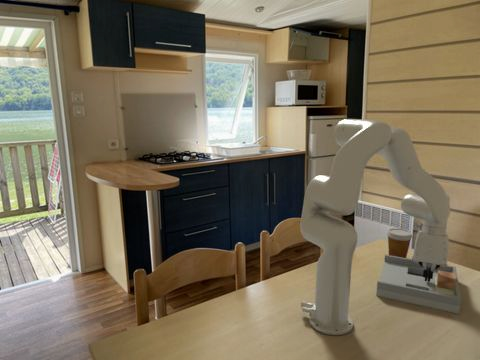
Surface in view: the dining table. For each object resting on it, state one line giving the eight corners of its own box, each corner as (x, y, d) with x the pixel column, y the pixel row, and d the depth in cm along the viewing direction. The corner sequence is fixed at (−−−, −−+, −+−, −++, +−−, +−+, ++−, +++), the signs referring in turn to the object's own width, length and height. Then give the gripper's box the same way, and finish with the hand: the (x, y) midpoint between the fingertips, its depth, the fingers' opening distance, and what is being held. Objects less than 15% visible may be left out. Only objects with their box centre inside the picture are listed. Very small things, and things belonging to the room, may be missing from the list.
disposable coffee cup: (413, 264, 147) (416, 236, 145) (389, 264, 147) (392, 235, 145) (403, 254, 156) (406, 228, 154) (381, 254, 156) (383, 227, 154)
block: (437, 287, 124) (438, 276, 123) (436, 280, 128) (438, 270, 128) (454, 290, 122) (455, 279, 121) (453, 283, 126) (454, 273, 125)
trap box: (376, 295, 123) (377, 281, 122) (384, 266, 145) (385, 254, 144) (459, 313, 113) (461, 298, 112) (454, 279, 135) (455, 266, 134)
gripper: (408, 229, 123) (402, 279, 127) (459, 236, 117) (452, 289, 120) (409, 222, 130) (404, 271, 134) (458, 229, 123) (451, 280, 127)
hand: (427, 279), depth 127 cm, fingers closed
